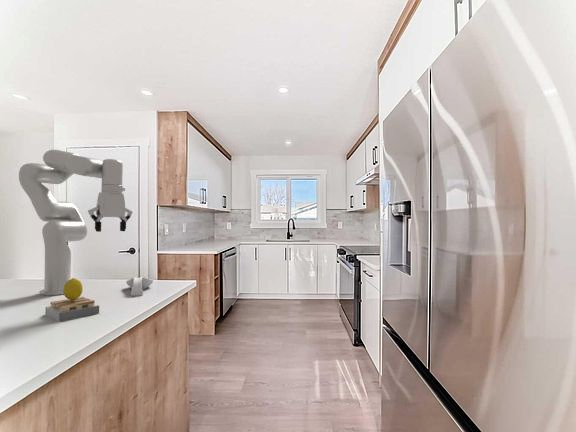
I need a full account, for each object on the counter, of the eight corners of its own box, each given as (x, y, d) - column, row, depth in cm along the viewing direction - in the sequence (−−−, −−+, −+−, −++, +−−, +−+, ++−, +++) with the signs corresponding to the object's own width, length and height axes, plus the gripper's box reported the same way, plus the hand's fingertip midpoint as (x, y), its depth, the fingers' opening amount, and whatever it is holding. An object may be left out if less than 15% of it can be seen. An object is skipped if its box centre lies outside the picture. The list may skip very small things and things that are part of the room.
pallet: (50, 307, 114) (50, 301, 114) (81, 301, 122) (82, 296, 123) (62, 312, 109) (62, 306, 109) (94, 306, 117) (94, 300, 117)
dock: (45, 314, 114) (45, 307, 114) (83, 307, 124) (83, 300, 124) (60, 321, 107) (60, 313, 107) (99, 313, 117) (99, 305, 117)
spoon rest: (127, 286, 163) (127, 272, 163) (153, 285, 167) (153, 270, 167) (122, 297, 141) (122, 280, 141) (152, 295, 145) (152, 279, 145)
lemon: (73, 303, 112) (73, 279, 112) (59, 302, 114) (59, 279, 114) (86, 299, 118) (86, 277, 118) (72, 298, 119) (73, 276, 119)
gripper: (128, 191, 147) (127, 230, 147) (85, 188, 134) (84, 231, 133) (136, 191, 143) (135, 231, 143) (93, 187, 129) (92, 232, 129)
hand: (110, 231), depth 138 cm, fingers open, 9 cm apart
